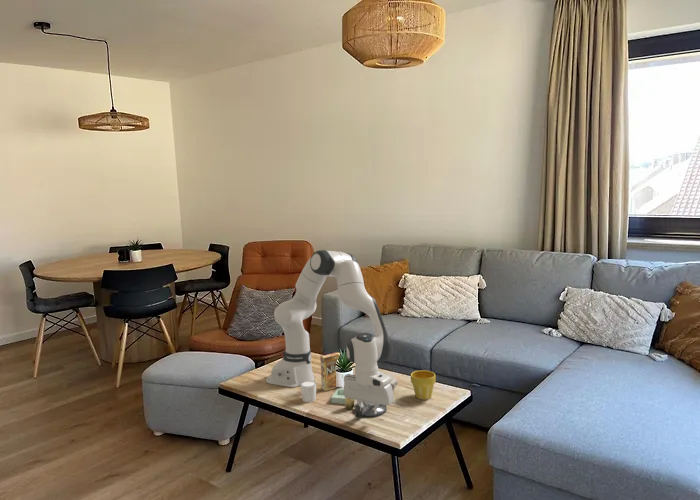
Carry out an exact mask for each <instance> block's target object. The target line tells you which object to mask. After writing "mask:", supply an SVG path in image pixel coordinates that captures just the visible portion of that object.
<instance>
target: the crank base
mask: <svg viewBox="0 0 700 500" xmlns="http://www.w3.org/2000/svg"><path fill="white" fill-rule="evenodd" d="M362 403H363V405H364V406H365V401H362ZM357 404H358V403H356V404H355V405H357ZM355 405H354V408H353V411H354V413H355V414H356V412H355ZM387 408H388V407H387V405H382V404H379V406H378V408H377V413H376V414H373V413H372V409H370V410H368V411H367V412H366V413H365V414H363V415H362V416H361V417H364V418H376V417H380V416H383V415H384V414H386V412H387Z"/></svg>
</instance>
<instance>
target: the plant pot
mask: <svg viewBox="0 0 700 500" xmlns="http://www.w3.org/2000/svg"><path fill="white" fill-rule="evenodd" d="M436 378H437V377H436V373H435V372H433V371H430V370H423V369H422V370H414V371H412V373H410V383H411V384H412V388H413V391H414V395H415V398H416V399H419V400H423V401H424V400H429V399H431V398H432V395H433V391H434V390H433V389H434V385H435V384H436Z"/></svg>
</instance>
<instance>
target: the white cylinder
mask: <svg viewBox="0 0 700 500" xmlns="http://www.w3.org/2000/svg"><path fill="white" fill-rule="evenodd" d="M299 386H300V393H301V399H302V402H304V403H313V402H314V401H316V399H317V382H316V381H305V382H302V383H301V384H300V385H299Z"/></svg>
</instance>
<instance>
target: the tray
mask: <svg viewBox="0 0 700 500" xmlns="http://www.w3.org/2000/svg"><path fill="white" fill-rule="evenodd" d="M355 401H356V400H355V399H354V403H355ZM330 403H331V404H341V405H346V404H345V396H344V388H336V389H335V391H334V392H333V394H332V396H331V397H330Z"/></svg>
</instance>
